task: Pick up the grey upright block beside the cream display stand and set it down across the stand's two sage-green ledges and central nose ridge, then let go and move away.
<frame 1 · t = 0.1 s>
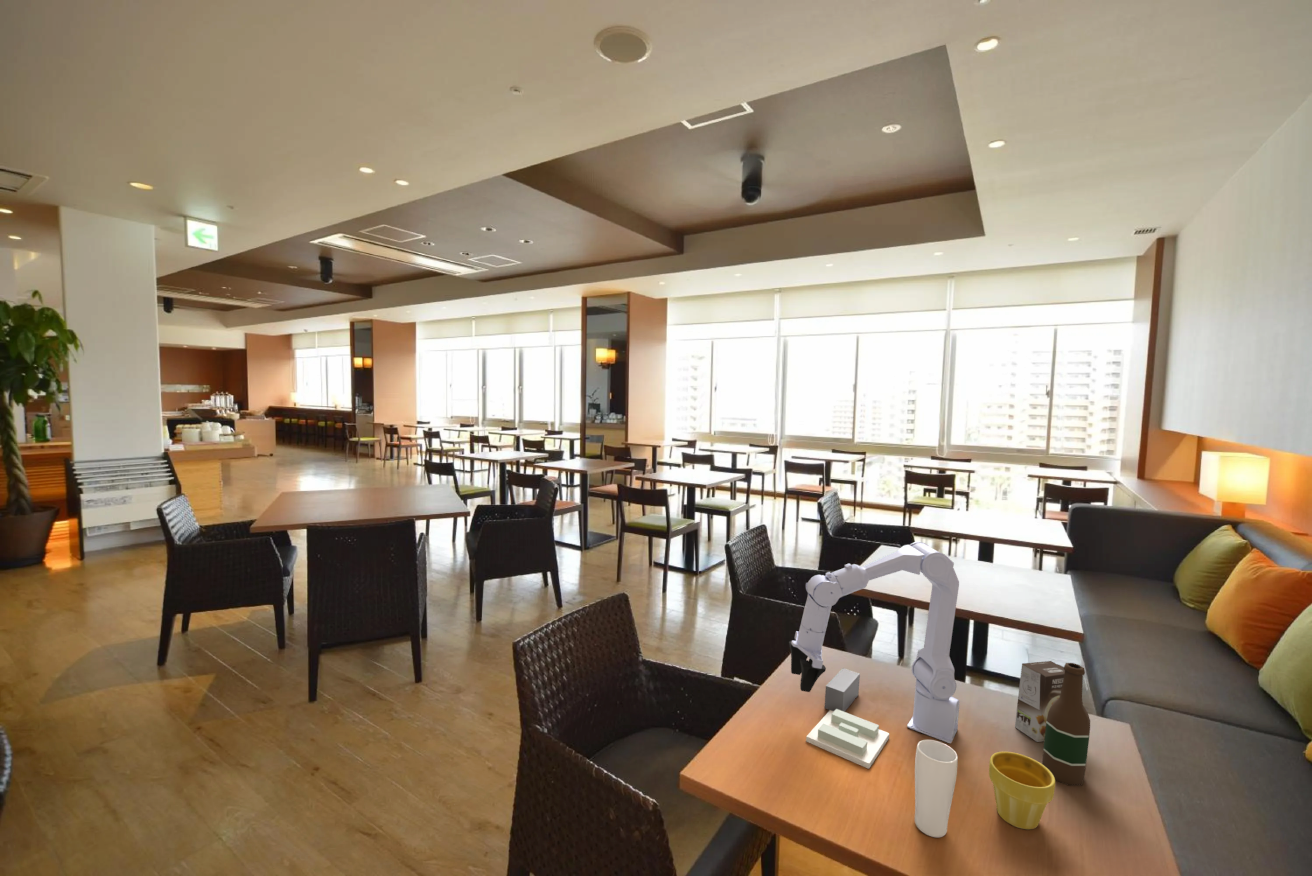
hand: (800, 682, 134), 11 cm above the table, tool pointing down, fingers open, 7 cm apart
coffee box: (1040, 733, 136), on the table
grey upright block: (841, 702, 146), on the table
drinking glass: (930, 829, 104), on the table
beer bottle: (1062, 775, 121), on the table
plant pot: (1016, 818, 108), on the table
display stand: (847, 739, 130), on the table
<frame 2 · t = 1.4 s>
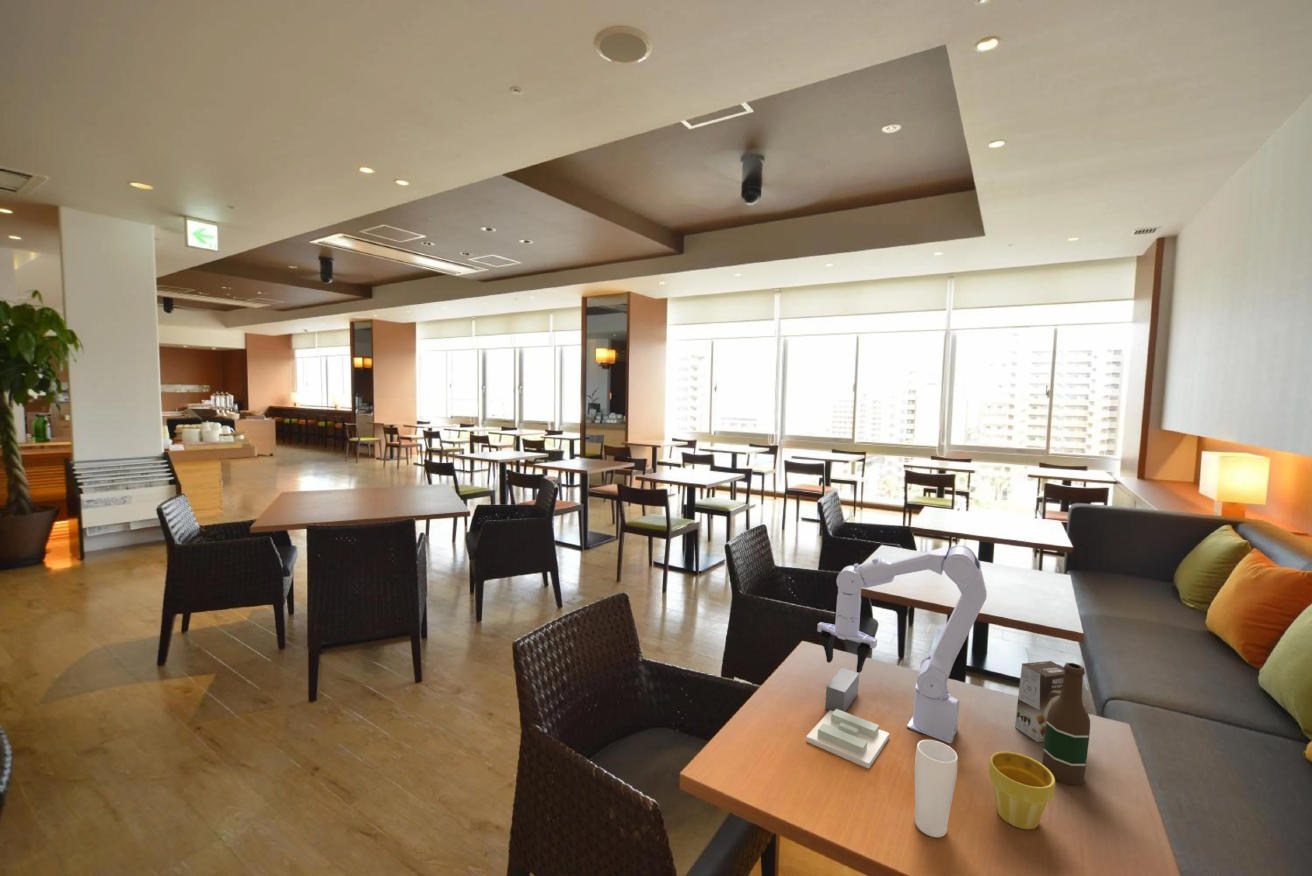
hand: (844, 666, 145), 9 cm above the table, tool pointing down, fingers open, 7 cm apart
nothing on the table moved.
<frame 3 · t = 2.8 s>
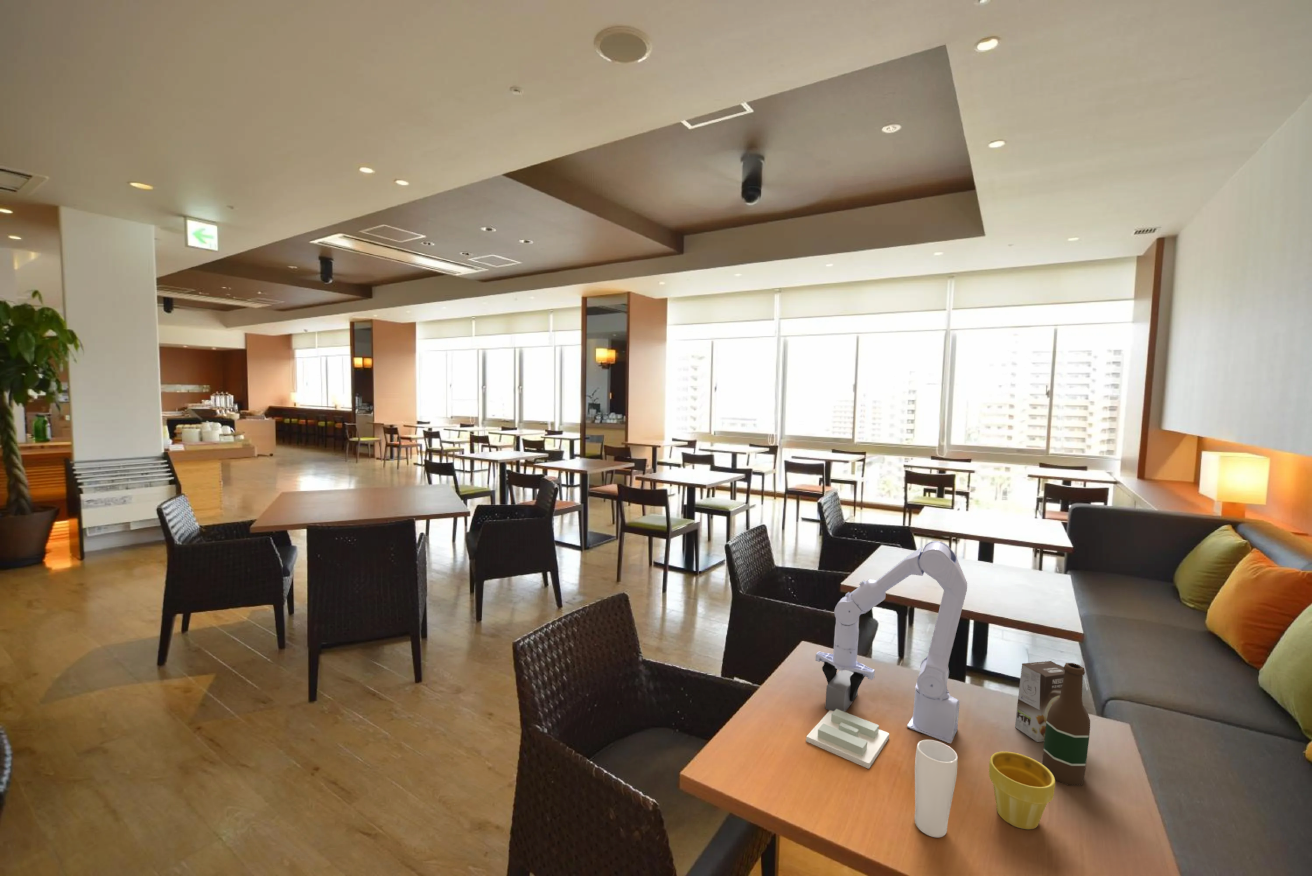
hand: (842, 696, 146), 1 cm above the table, tool pointing down, fingers closed on grey upright block, 5 cm apart
grey upright block: (841, 701, 146), on the table, touching gripper
everything else where it was.
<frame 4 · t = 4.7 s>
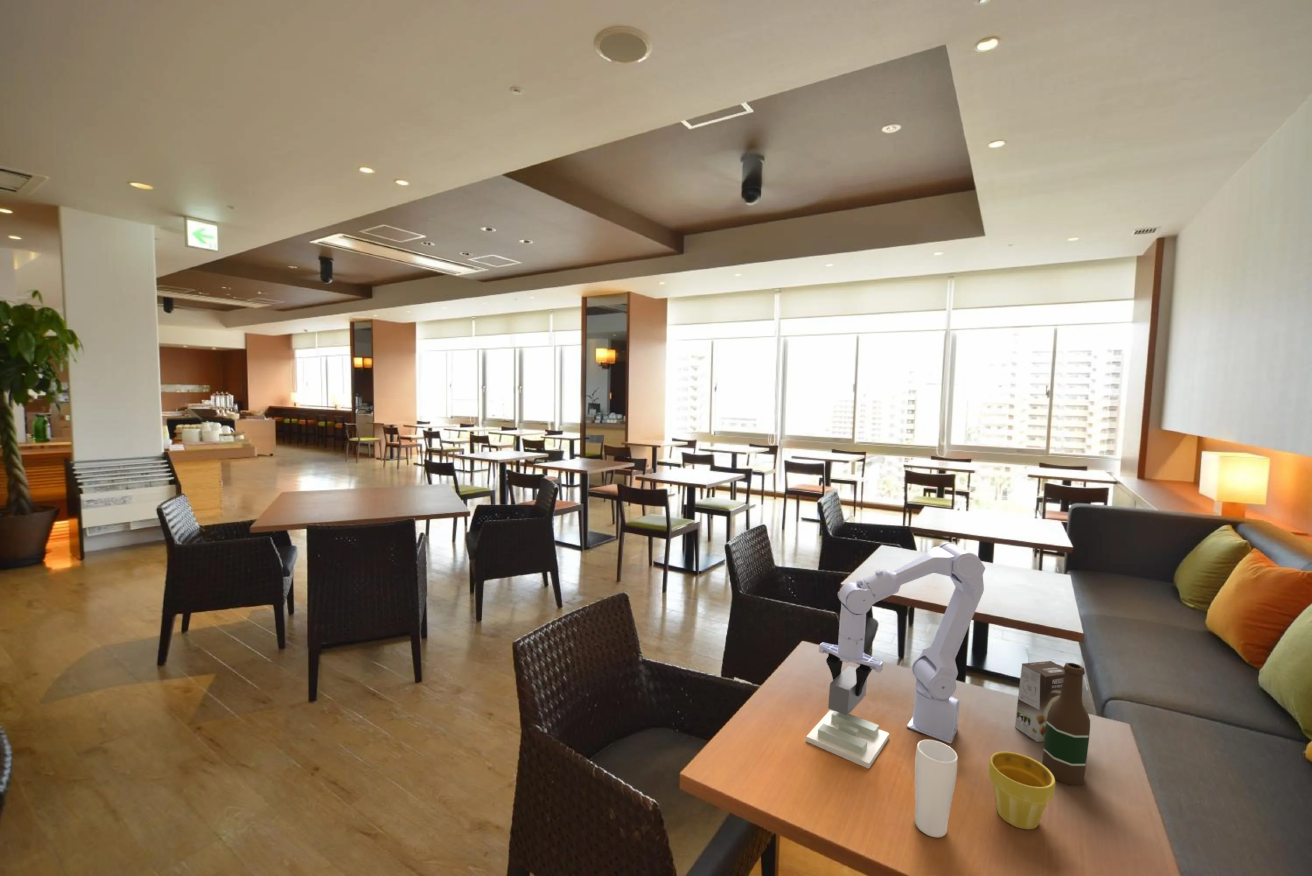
hand: (847, 690, 135), 8 cm above the table, tool pointing down, fingers closed on grey upright block, 4 cm apart
grey upright block: (847, 701, 136), point 5 cm above the table, touching gripper
everything else where it was.
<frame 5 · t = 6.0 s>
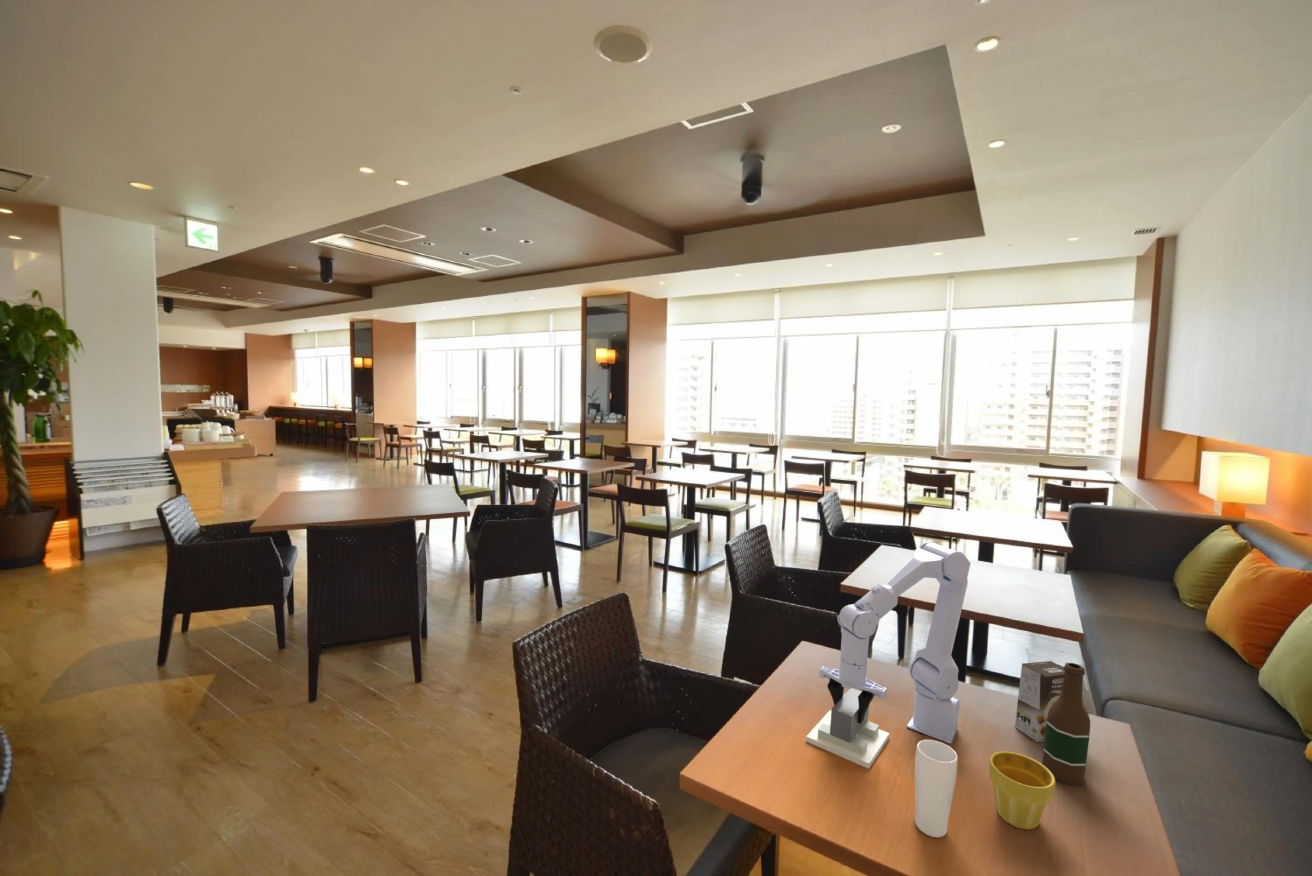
hand: (849, 717, 129), 5 cm above the table, tool pointing down, fingers closed on grey upright block, 4 cm apart
grey upright block: (849, 726, 130), point 3 cm above the table, touching display stand, gripper
everything else where it was.
when the fingers open (5 cm above the table, at t = 6.1 s): grey upright block stays where it is, resting on display stand.
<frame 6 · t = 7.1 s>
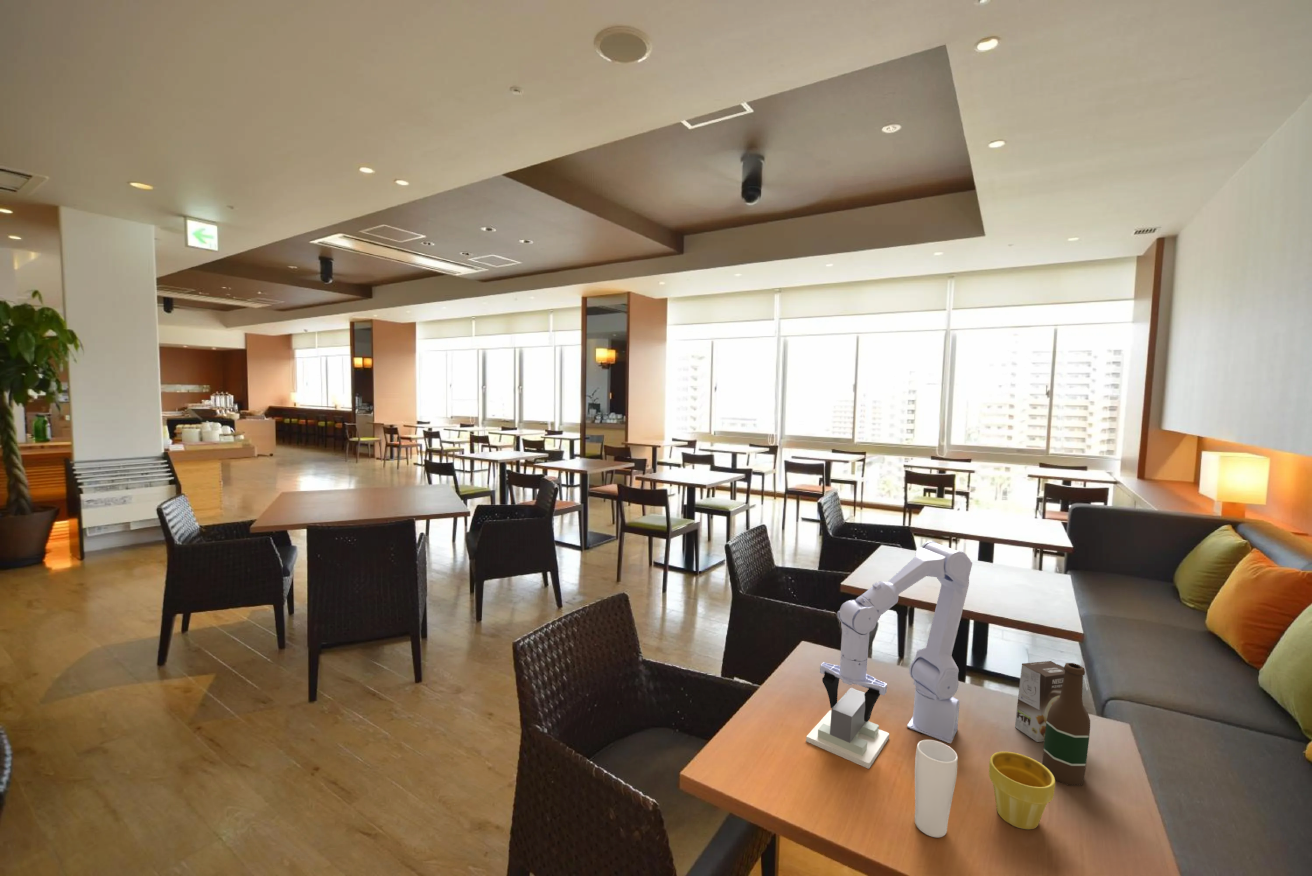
hand: (850, 713, 129), 6 cm above the table, tool pointing down, fingers open, 7 cm apart
grey upright block: (849, 726, 130), point 3 cm above the table, touching display stand
everything else where it was.
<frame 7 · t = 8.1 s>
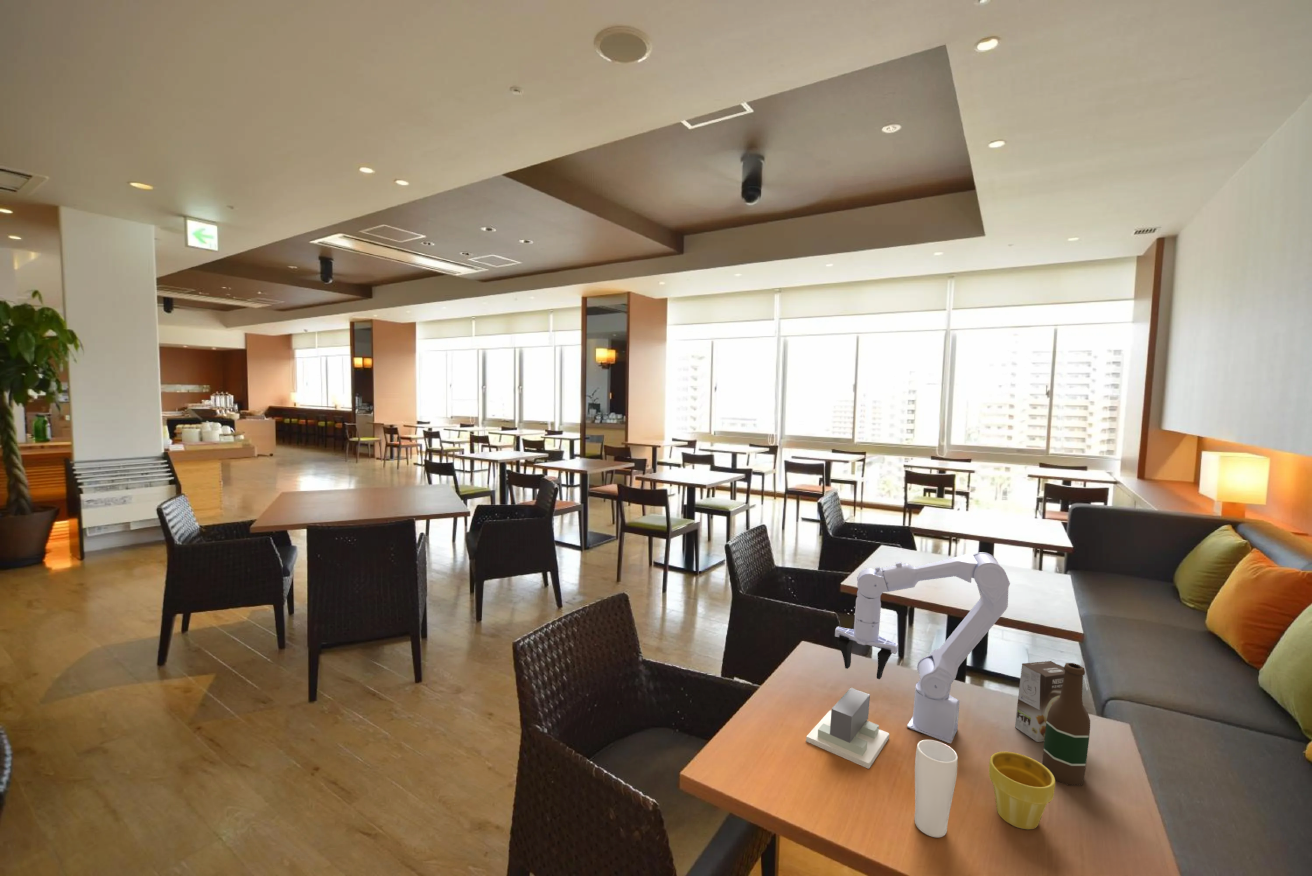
hand: (863, 672, 140), 10 cm above the table, tool pointing down, fingers open, 7 cm apart
nothing on the table moved.
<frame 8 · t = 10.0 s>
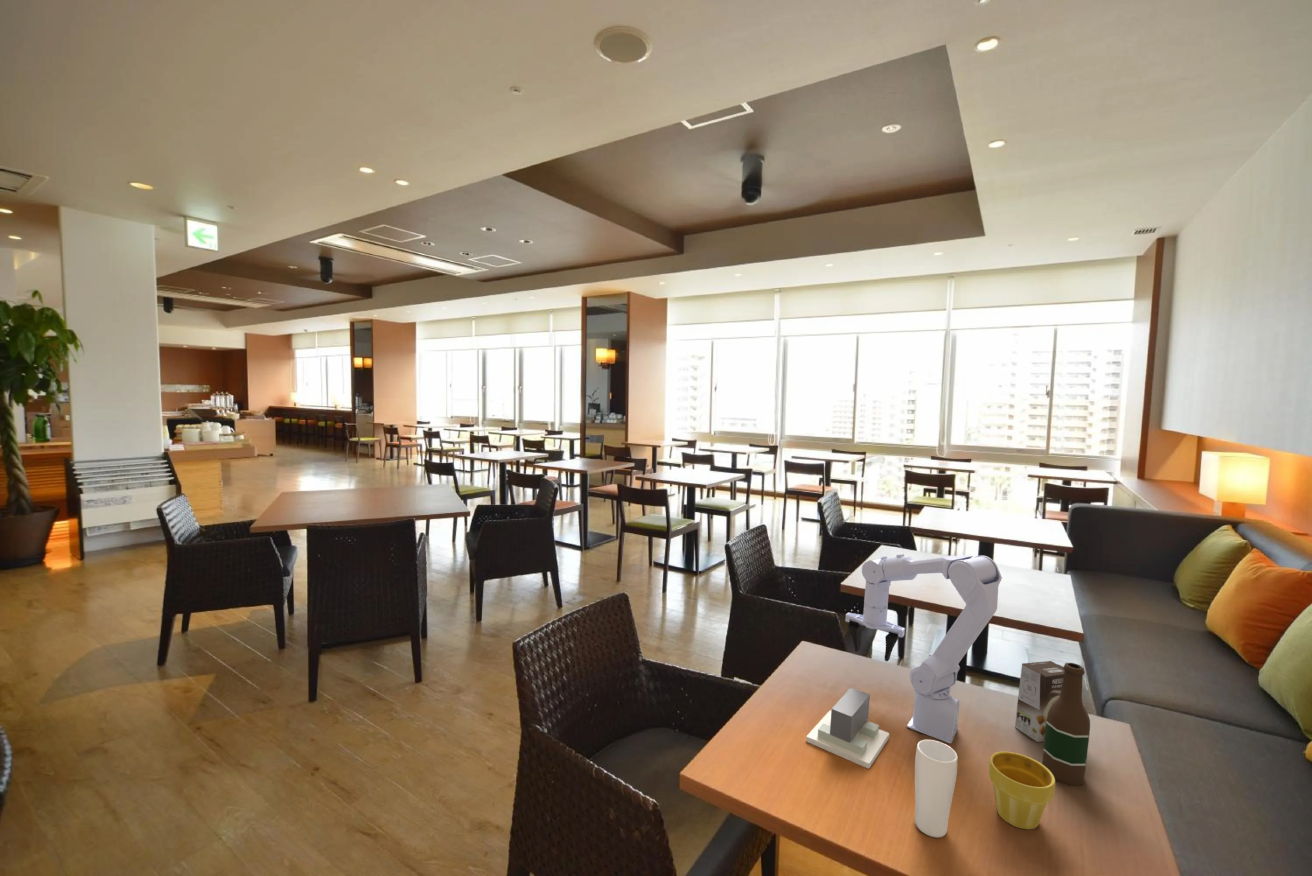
hand: (872, 655, 149), 10 cm above the table, tool pointing down, fingers open, 7 cm apart
nothing on the table moved.
at the end: grey upright block 0.4 cm off-centre on the display stand, point 3.0 cm above the display stand's base; grey upright block tilted 0°; the gripper is holding nothing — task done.
